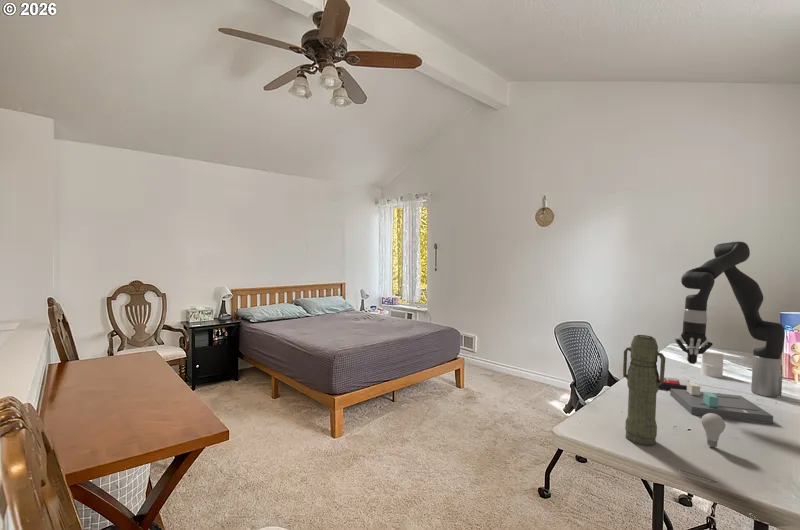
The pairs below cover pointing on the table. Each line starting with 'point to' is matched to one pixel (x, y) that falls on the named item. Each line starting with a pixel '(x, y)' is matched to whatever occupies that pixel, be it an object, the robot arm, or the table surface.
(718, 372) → the white cylinder
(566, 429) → the table surface
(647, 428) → the thermos
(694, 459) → the table surface
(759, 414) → the console
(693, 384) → the block
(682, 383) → the calculator
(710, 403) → the fader teal
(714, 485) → the table surface
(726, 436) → the table surface
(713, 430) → the lightbulb
